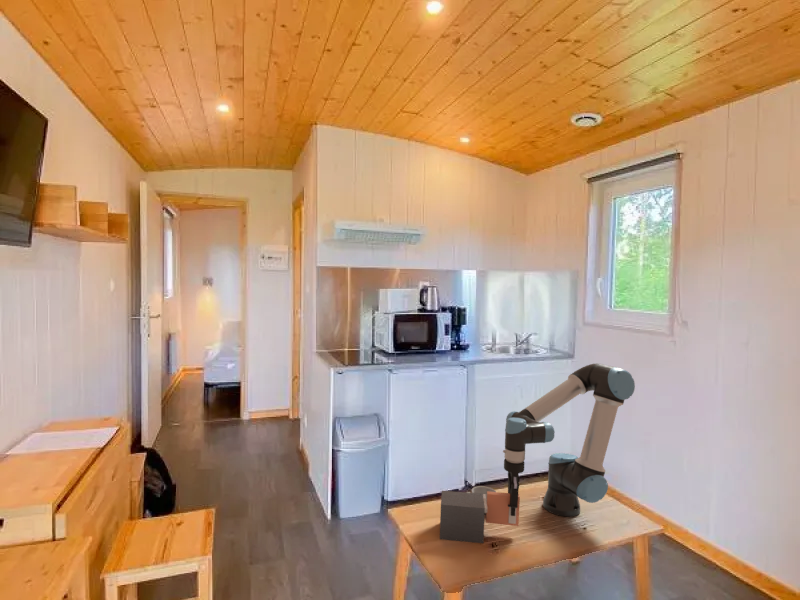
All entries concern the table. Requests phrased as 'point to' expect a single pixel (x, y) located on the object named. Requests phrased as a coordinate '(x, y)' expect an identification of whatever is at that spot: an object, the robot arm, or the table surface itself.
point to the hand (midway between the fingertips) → (511, 520)
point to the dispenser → (462, 516)
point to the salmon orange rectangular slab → (499, 508)
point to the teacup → (482, 490)
